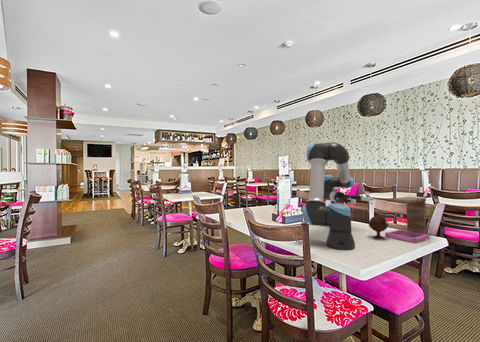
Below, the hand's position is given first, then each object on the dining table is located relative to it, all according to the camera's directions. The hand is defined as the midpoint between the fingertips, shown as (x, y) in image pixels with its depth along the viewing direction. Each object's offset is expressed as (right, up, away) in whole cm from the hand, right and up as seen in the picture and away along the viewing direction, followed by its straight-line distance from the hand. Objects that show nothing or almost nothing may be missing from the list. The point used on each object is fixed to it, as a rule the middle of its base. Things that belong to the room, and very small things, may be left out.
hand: (362, 200), depth 160 cm
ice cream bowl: (+5, -23, -9) cm, 25 cm away
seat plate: (+23, -22, -9) cm, 33 cm away
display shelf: (+25, -22, -9) cm, 35 cm away
